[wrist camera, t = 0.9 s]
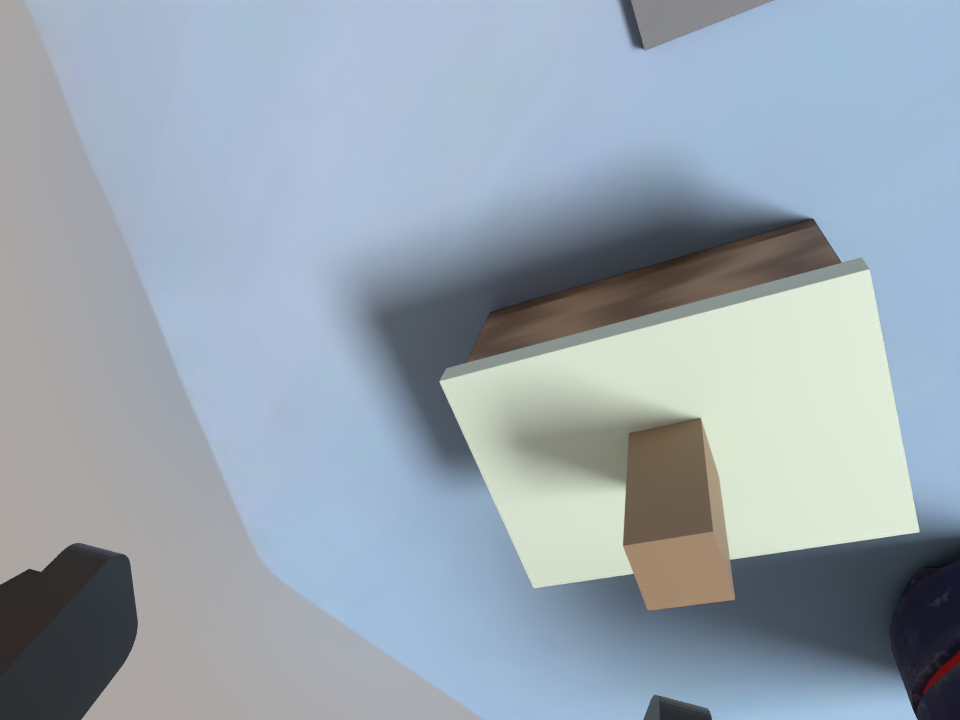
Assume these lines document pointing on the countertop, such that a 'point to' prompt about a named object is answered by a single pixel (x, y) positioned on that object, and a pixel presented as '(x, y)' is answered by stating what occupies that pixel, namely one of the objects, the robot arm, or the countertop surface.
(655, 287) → the egg box
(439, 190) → the countertop surface
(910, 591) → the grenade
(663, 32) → the plate
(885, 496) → the lid
